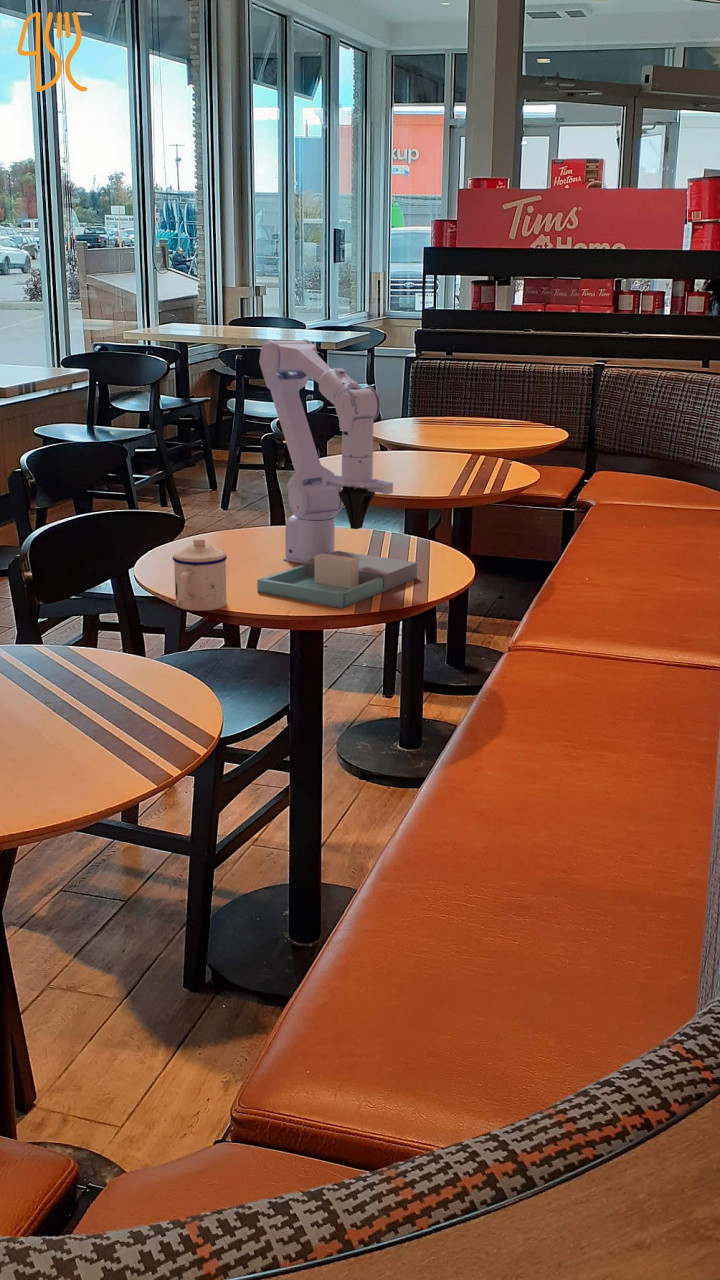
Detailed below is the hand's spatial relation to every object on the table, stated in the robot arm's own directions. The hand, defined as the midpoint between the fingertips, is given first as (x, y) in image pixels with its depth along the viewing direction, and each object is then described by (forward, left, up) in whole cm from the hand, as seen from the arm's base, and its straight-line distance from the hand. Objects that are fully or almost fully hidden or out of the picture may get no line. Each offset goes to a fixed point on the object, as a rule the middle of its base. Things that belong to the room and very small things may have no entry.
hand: (356, 528), depth 214 cm
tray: (+1, -14, -9) cm, 17 cm away
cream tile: (+1, -7, -6) cm, 10 cm away
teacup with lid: (-10, -34, -10) cm, 37 cm away
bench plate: (+1, -1, -9) cm, 9 cm away
